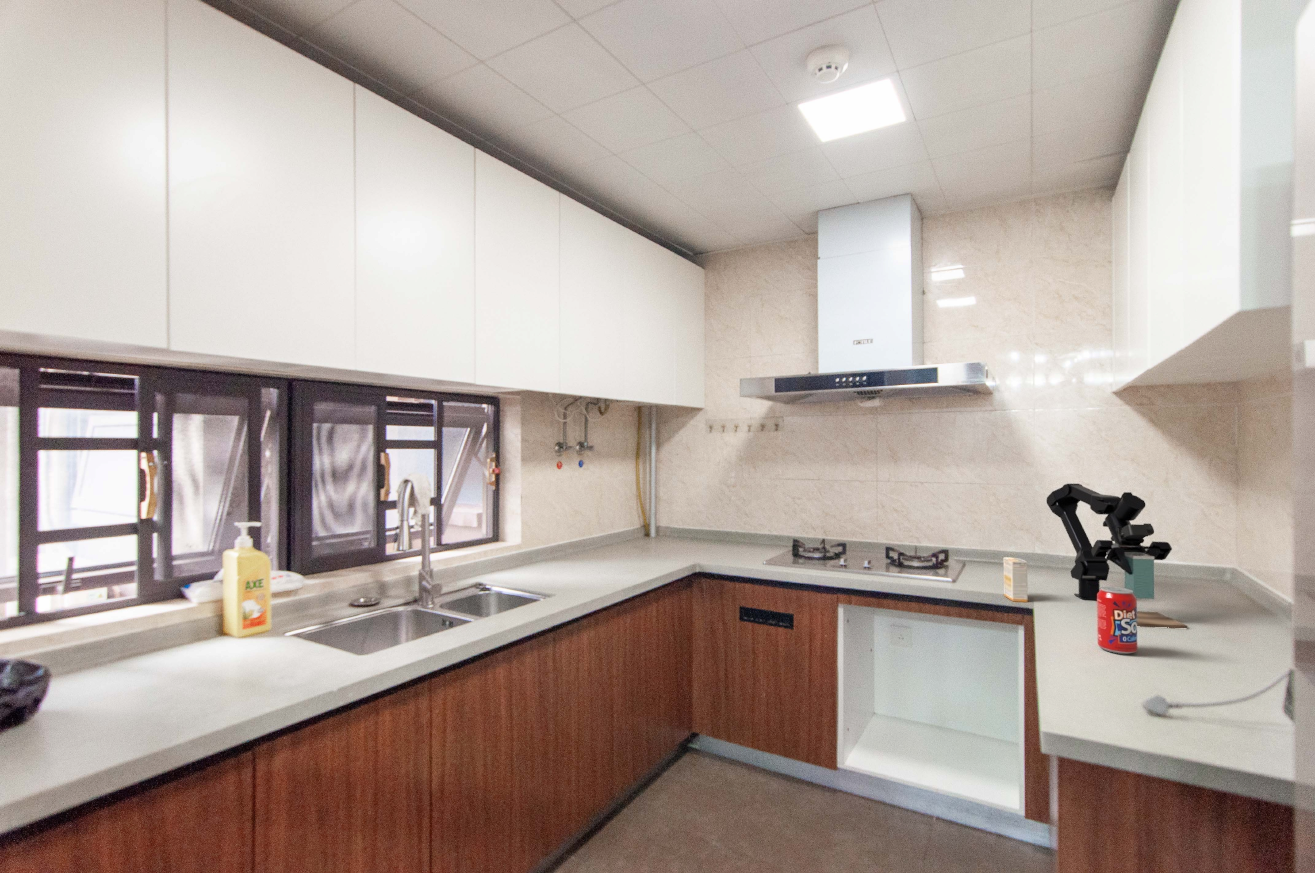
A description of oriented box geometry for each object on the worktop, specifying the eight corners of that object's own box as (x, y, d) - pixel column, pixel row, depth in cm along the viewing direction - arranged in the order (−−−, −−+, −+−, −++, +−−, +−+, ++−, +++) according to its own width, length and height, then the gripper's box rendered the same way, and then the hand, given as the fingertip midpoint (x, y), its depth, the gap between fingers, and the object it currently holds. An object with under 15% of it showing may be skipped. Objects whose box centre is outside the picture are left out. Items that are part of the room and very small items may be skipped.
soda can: (1098, 643, 157) (1098, 584, 157) (1138, 649, 152) (1137, 588, 152) (1096, 651, 151) (1095, 589, 151) (1136, 658, 146) (1136, 594, 146)
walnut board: (1104, 614, 186) (1104, 609, 186) (1157, 617, 183) (1157, 611, 183) (1129, 628, 172) (1129, 622, 172) (1187, 631, 169) (1187, 625, 169)
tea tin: (1124, 593, 181) (1123, 552, 181) (1144, 594, 180) (1144, 553, 180) (1133, 597, 176) (1133, 555, 176) (1154, 598, 175) (1154, 556, 175)
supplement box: (1028, 602, 198) (1028, 561, 198) (1012, 601, 199) (1011, 560, 199) (1019, 596, 206) (1018, 556, 207) (1003, 595, 207) (1002, 556, 207)
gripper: (1095, 512, 184) (1114, 556, 173) (1167, 514, 180) (1191, 559, 169) (1083, 535, 192) (1100, 578, 181) (1153, 537, 187) (1175, 581, 176)
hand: (1141, 574), depth 176 cm, fingers closed on tea tin, 5 cm apart
